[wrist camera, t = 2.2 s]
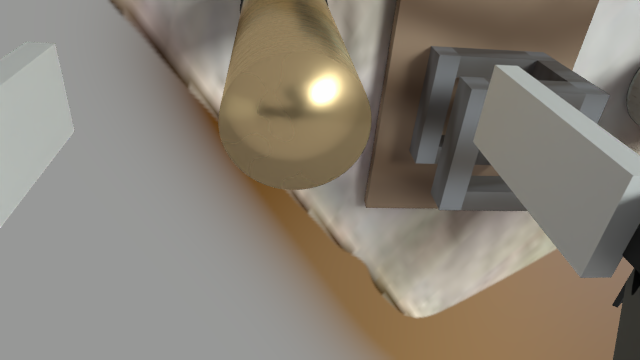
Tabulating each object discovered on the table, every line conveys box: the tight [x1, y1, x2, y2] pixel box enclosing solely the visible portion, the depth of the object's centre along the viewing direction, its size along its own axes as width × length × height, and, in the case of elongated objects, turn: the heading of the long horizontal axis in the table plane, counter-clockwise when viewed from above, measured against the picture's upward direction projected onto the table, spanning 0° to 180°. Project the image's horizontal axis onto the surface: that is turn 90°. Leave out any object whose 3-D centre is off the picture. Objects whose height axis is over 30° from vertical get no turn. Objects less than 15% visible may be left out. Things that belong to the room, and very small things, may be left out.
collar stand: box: [364, 0, 610, 211], centre depth 33 cm, size 20×14×9 cm
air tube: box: [219, 0, 371, 190], centre depth 21 cm, size 4×4×22 cm
